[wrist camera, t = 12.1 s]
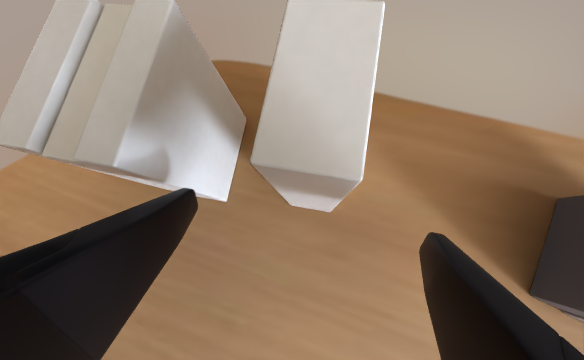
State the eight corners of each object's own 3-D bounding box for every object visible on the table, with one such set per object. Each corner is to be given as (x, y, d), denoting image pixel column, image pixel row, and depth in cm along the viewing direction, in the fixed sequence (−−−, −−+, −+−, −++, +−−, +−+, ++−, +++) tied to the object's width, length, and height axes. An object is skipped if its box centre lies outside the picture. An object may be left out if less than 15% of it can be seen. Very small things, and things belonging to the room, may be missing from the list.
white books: (227, 201, 17) (113, 167, 7) (164, 190, 18) (-14, 145, 8) (247, 119, 18) (173, -3, 9) (188, 111, 19) (59, -10, 9)
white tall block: (330, 212, 16) (362, 181, 6) (290, 205, 17) (247, 163, 6) (341, 140, 17) (386, -1, 7) (303, 135, 18) (287, -6, 7)
